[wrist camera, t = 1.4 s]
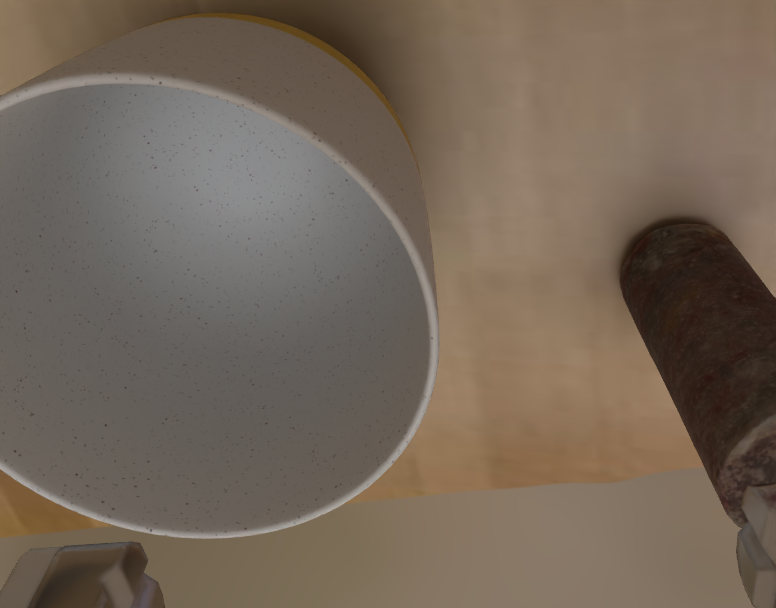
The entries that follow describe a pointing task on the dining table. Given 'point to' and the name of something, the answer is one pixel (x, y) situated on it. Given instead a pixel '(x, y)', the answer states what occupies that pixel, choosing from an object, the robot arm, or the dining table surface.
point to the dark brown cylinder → (710, 350)
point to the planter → (210, 280)
